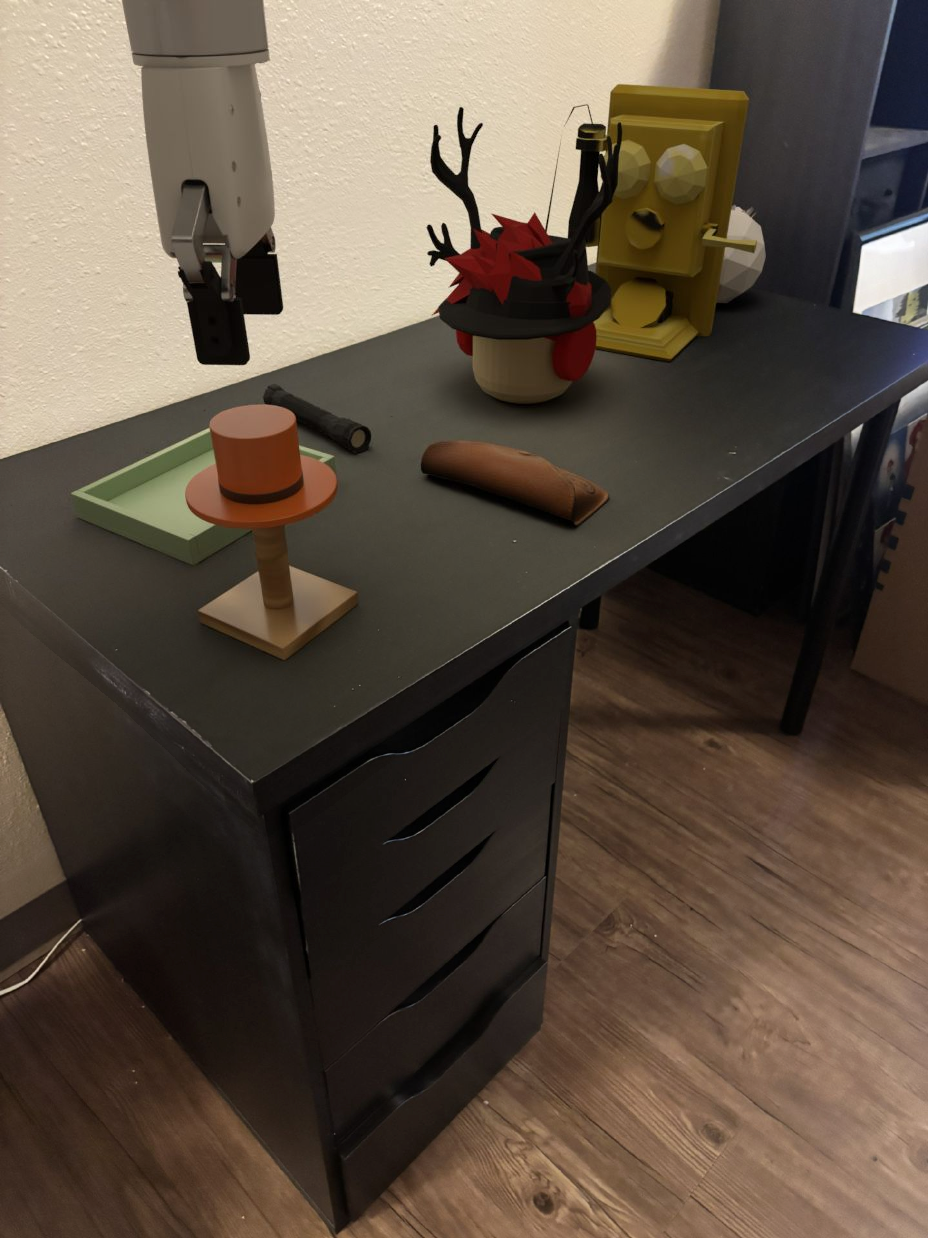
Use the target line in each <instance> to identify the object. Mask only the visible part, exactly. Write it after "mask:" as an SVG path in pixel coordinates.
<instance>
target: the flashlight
mask: <svg viewBox="0 0 928 1238" xmlns="http://www.w3.org/2000/svg"><path fill="white" fill-rule="evenodd" d="M262 399H263V403H264V405H274V406H279V407H283V408H286V409H288V410H290V411H291V412H292V413H294V415H295V417H296V421H299V422H301V423H302V424H304V425H307V426H309V427H311V428H313V429H315V430H317V431H318V432H320V433H322V434H326V435H327V436H329V437H330V438H331V439H332V440H333V441H334V442H336V443H338V445H340V446H343V447H344V448H346V449H348V450H349V451H350V452H353V453H356V454H360V453H363V452H365V451H366V450H367V449H368V448H369V446H370V445H371V444H370V443H371V441H372V432H371V430H370V428H369V427H367V426H365V425H363V424H361V423H359V422H356V421H354V420H352V419H350V418H345V417H340V416H338V415H336V414H333V413H332V412H329V411H327V410H326V409H323V408H321V407H319V406H317V405H315V404H313V403H310V402H308V401H306V399H305V400H304V399H303V398H300V397H298V396H296V395H294V394H292V393H290V392H288V391H286V390H285V389H284V388H283V387H281V385H278V384H276V383H273V384H270V385H267V388H265V390H264V393H263V396H262Z"/></svg>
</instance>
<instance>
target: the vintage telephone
mask: <svg viewBox="0 0 928 1238" xmlns="http://www.w3.org/2000/svg"><path fill="white" fill-rule="evenodd" d="M749 103H750V98H749V97H748V95H747V94H746V92H745V91H744V90H733V89H732V90H731V89H730V90H729V89H716V88H715V89H714V88H713V89H712V88H697V87H695V88H694V87H681V86H680V87H677V86H662V85H661V86H660V85H643V84H625V83H618V84H616V85H615V86H614V87H613V88H612V89H611V90H610V94H609V106H608V118H607V126H606V125H605V124H603V123H594V122H593V118H592V114H591V110H590V106H589V104H588V103H586V104H581V105H577V106H573V107H572V109H571V111H570V113H569V115H568V117H567V120H566V121H565V124H564V126H566V125H567V123H568V121H569V119H570V117H571V115H572V114H573V112H574V110H575V109H576V108H580V107H585V106H587V110H588V113H589V114H588V115H589V120H590V122H591V123H586V122H583V123H582V124H580V125H579V126H578V128H577V137H576V139H575V150H576V151H580V158H579V170H578V171H579V173H578V183H577V187H576V191H575V195H574V199H573V201H572V206H571V210H570V214H569V218H568V223H567V225H568V227H567V238H569V239H572V238H573V236H574V234H575V232H576V230H577V228H578V226H579V224H580V222H581V220H582V218H583V216H584V214H585V212H586V211H587V210H588V209H589V208H590V207H591V206H592V204H593V202H594V200H595V198H596V196H597V195H598V193H599V191H600V187H599V179H598V178H599V169H600V167H599V157H598V156H599V154H601V153H603V152H605V153H604V154H603V156H604V159H605V163H606V165H607V160H608V147H607V138H606V137H607V136H610V138H611V141H612V154H613V150H614V146H615V145H616V144H617V125H618V123H619V122H620V123H621V125H622V142H621V147H620V152H619V164H618V185H617V188H616V190H615V193H614V195H613V199H612V203H611V204H610V205H609V206H608V207H607V208H606V209H605V211H604V212H603V213H602V215H601V216H600V217H599V218H598V219H597V220H596V221H595V223H594V224H593V226H592V227H591V228H590V230H589V231H588V233H587V235H586V237H585V243H586V248H592V247H593V248H594V247H597V248H596V251H597V252H596V259H595V260H596V261H595V272H594V273H595V274H597V275H598V276H600V277H602V278H603V279H605V280H606V281H607V282H608V284H609V286H610V287H611V289H612V294H611V301H610V305H609V307H608V308H607V309H606V310H605V311H604V313H603V314H602V315H601V316H600V318H599V319H597V320H596V321H594V324H595V328H596V347H595V350H602V351H607V352H613V353H616V354H617V353H618V354H624V355H629V356H635V357H639V358H640V357H641V358H645V359H651V360H655V361H656V360H657V361H661V362H669V363H670V362H671V361H672V360H673V359H674V358H675V357H676V356H677V355H678V354H680V352H681V351H682V350H683V349H684V348H685V347H687V346H688V344H689V343H690V342H691V341H693V340H694V339H695V338H696V337H710V336H711V335H712V333H713V332H712V331H713V325H714V318H715V313H716V306H717V303H716V301H717V295H718V289H719V282H720V276H721V270H722V264H723V258H724V252H725V247H730V248H734V249H738V250H742V251H746V252H750V253H754V252H755V250H756V245H757V241H753V240H729V239H727V233H728V227H729V221H730V215H731V209H732V206H733V201H734V196H735V189H736V183H737V177H738V171H739V165H740V158H741V154H742V153H741V152H742V147H743V141H744V133H745V127H746V123H747V122H746V121H747V116H748V109H749ZM563 130H564V129H562V132H563ZM562 136H563V135H561V138H562ZM561 143H562V140H560V144H559V145H561ZM560 148H561V146H559V150H558V151H560V150H561V149H560ZM559 156H560V152H558V154H557V157H559ZM558 163H559V158H557V160H556V165H555V170H554V175H553V182H552V186H551V193H550V199H549V205H548V211H547V217H546V223H545V227H544V229H545V231H546V232H547V233H548V227H549V221H550V216H551V215H550V214H551V207H552V203H553V202H552V201H553V195H554V188H555V182H556V177H557V175H556V174H557V169H558ZM600 179H601V180H602V177H601V176H600Z"/></svg>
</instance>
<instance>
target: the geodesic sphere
mask: <svg viewBox="0 0 928 1238" xmlns="http://www.w3.org/2000/svg"><path fill="white" fill-rule="evenodd" d="M753 211H754V208H753V207H750V208H748V209H747V210H746V209H745V210H744V209H742V208H741V207H740V206H737V205H736V204H732V209H731V215H730V221H729V227H728V233H727V239H729V240H753V241H757V245H756V250H755V252H754V253H750V252H746V251H742V250H738V249H734V248H730V247H725V252H724V258H723V264H722V270H721V276H720V282H719V289H718V295H717V301H716V304H728V303H730V302H731V301H733V300H734V299H735V298H737V297H738V296H740V295H742V294H744V293H745V292H746V291H747V290H749V289H751V288H752V287H753V286H754V285H755V283H756V281H757V280H758V278H759V277H760V275H761V274H762V272H763V269H764V265H765V261H766V257H767V255H766V248H765V247H766V246H765V240H764V235H763V230H762V226H761V225H760V224H759V223H758V222H756V221H755V219H754V218H753V217H754V216H755V215H756V214H757V212H754V213H753V214H752V212H753ZM751 214H752V215H751ZM750 215H751V216H750Z"/></svg>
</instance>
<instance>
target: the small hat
mask: <svg viewBox="0 0 928 1238" xmlns="http://www.w3.org/2000/svg"><path fill="white" fill-rule="evenodd" d="M208 426H209V427H208V428H210V433H211V439H212V445H213V450H214V456H215V462H216V463H215V464H213V465H211V466H209V467H207V468H205V469H204V470H202V471H201V472H199V473H198V474H196V475H195V476H194V477H193V478H192V479H191V480H190V482H189V483H188V485H187V487H186V491H185V498H186V503H187V505H188V508H189V509H190V510H191V512H192V513H193V514H194V515H195V516H197V517H198V518H200V519H202V520H204V521H206V522H208V523H211V524H214V525H218V526H223V527H228V528H237V529H261V528H271V527H277V526H282V525H284V526H286V525H290V524H294V523H297V522H301V521H303V520H305V519H308V518H311V517H313V516H315V515H316V514H317V513H318V514H319V512H321V511H323V510H324V509H325V508H327V507H328V506H329V505H330V504H331V503H332V502H333V500H334V499H335V497H336V496H337V493H338V488H339V486H338V478H337V474H336V475H335V473H334V471H333V470H332V469H331V468H330V467H329V466H328V465H326V464H325V463H323V462H321V461H319V460H317V459H314V458H311V457H308V456H304V455H300V449H299V445H300V441H299V433H298V432H299V431H298V424H297V419H296V417H295V415H294V413H292V412H291V411H290V410H288V409H286V408H283V407H279V406H274V405H266V404H262V403H261V404H247V405H246V404H245V405H240V406H235V407H232V408H229V409H226V410H223V411H221V412H219V413H218V414H216V415H214V416H213V417H212V418H211V420H210V421H209V424H208Z"/></svg>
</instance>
